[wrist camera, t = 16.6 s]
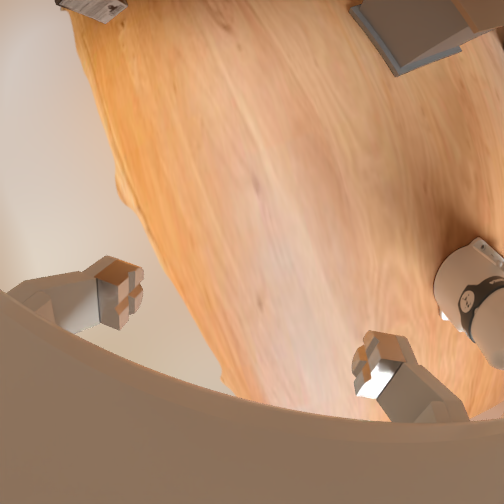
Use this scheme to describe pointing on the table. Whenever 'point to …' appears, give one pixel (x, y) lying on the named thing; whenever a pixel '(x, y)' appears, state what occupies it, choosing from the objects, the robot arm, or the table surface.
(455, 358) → the table surface
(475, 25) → the stand
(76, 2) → the coffee box
